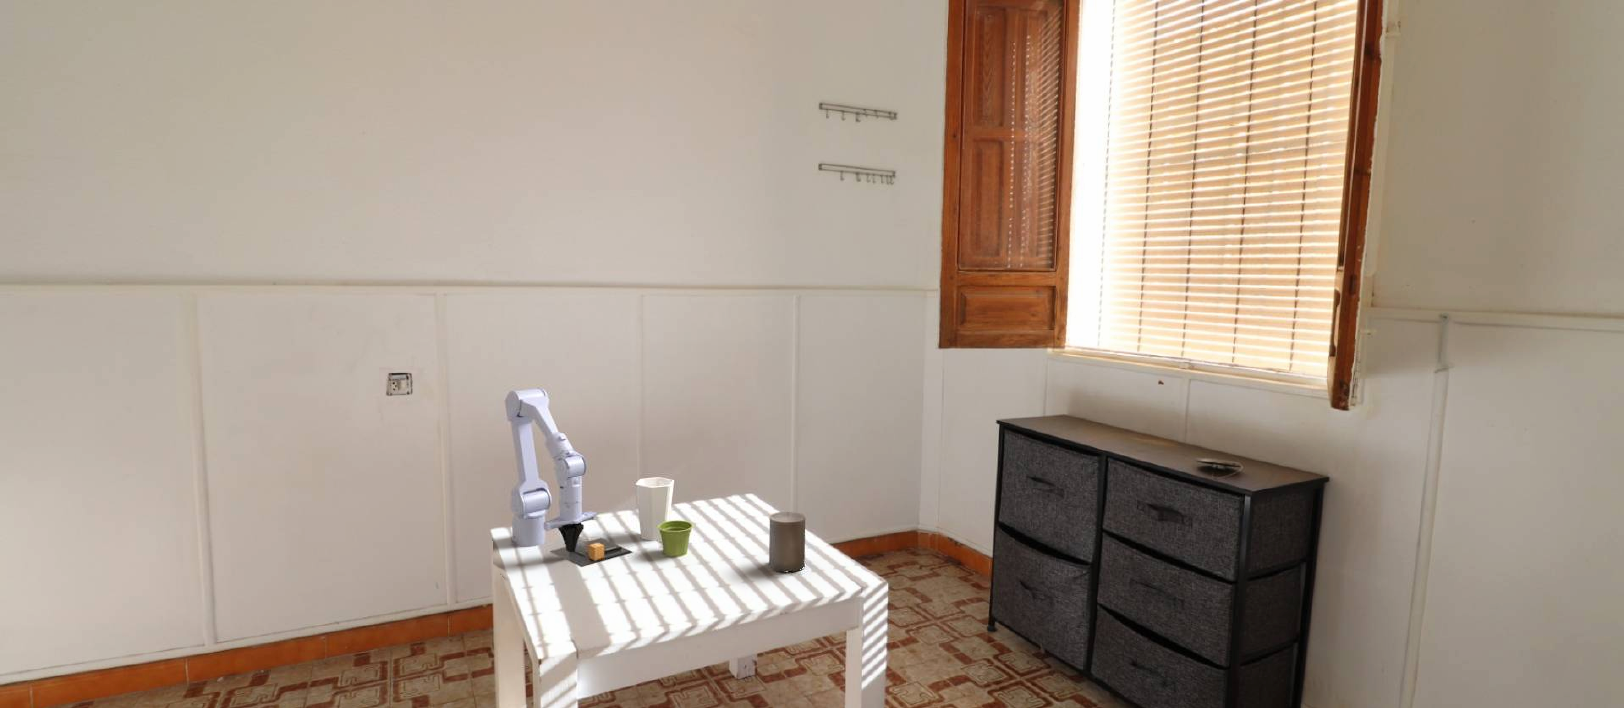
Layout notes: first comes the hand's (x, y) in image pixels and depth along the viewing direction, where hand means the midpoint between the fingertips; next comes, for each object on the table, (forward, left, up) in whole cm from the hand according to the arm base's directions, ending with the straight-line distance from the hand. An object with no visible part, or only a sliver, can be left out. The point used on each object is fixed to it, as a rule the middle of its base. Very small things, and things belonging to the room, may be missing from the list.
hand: (570, 550), depth 211 cm
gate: (-1, +4, -2) cm, 4 cm away
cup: (+1, +27, -3) cm, 27 cm away
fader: (+5, +5, -2) cm, 7 cm away
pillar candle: (+42, +40, -3) cm, 58 cm away
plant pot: (+16, +23, -3) cm, 28 cm away
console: (0, +7, -3) cm, 7 cm away
